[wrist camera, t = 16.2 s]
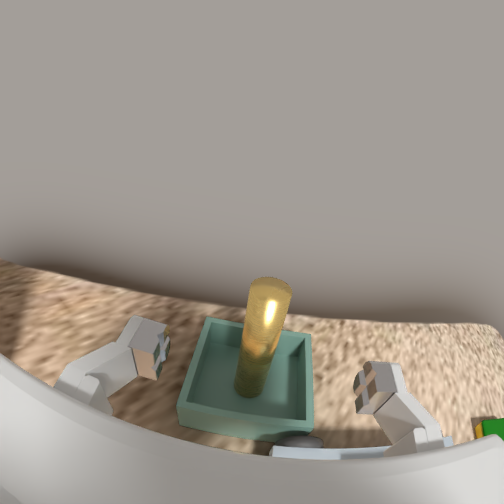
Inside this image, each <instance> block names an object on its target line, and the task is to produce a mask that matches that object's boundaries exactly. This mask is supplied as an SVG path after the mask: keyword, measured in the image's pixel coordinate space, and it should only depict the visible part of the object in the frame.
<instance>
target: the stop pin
mask: <svg viewBox="0 0 504 504" xmlns="http://www.w3.org/2000/svg"><path fill="white" fill-rule="evenodd" d="M291 296H292V289H291V288H290V286H289V285H288V284H287V283H285V282H284V281H282V280H280V279H277V278H273V277H261V278H258V279H255V280H254V281H253V282H252V283H251V286H250V292H249V299H248V304H247V310H246V316H245V322H244V328H243V333H242V339H241V345H240V351H239V357H238V363H237V368H236V374H235V380H234V389H235V391H236V392H237V393H238V394H239V395H240V396H242V397H245V398H255V397H257V396H259V395H260V394H261V393H262V391H263V389H264V386H265V382H266V379H267V376H268V373H269V370H270V367H271V364H272V361H273V357H274V354H275V351H276V348H277V344H278V341H279V338H280V334H281V331H282V328H283V324H284V321H285V317H286V314H287V310H288V307H289V303H290V300H291Z"/></svg>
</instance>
